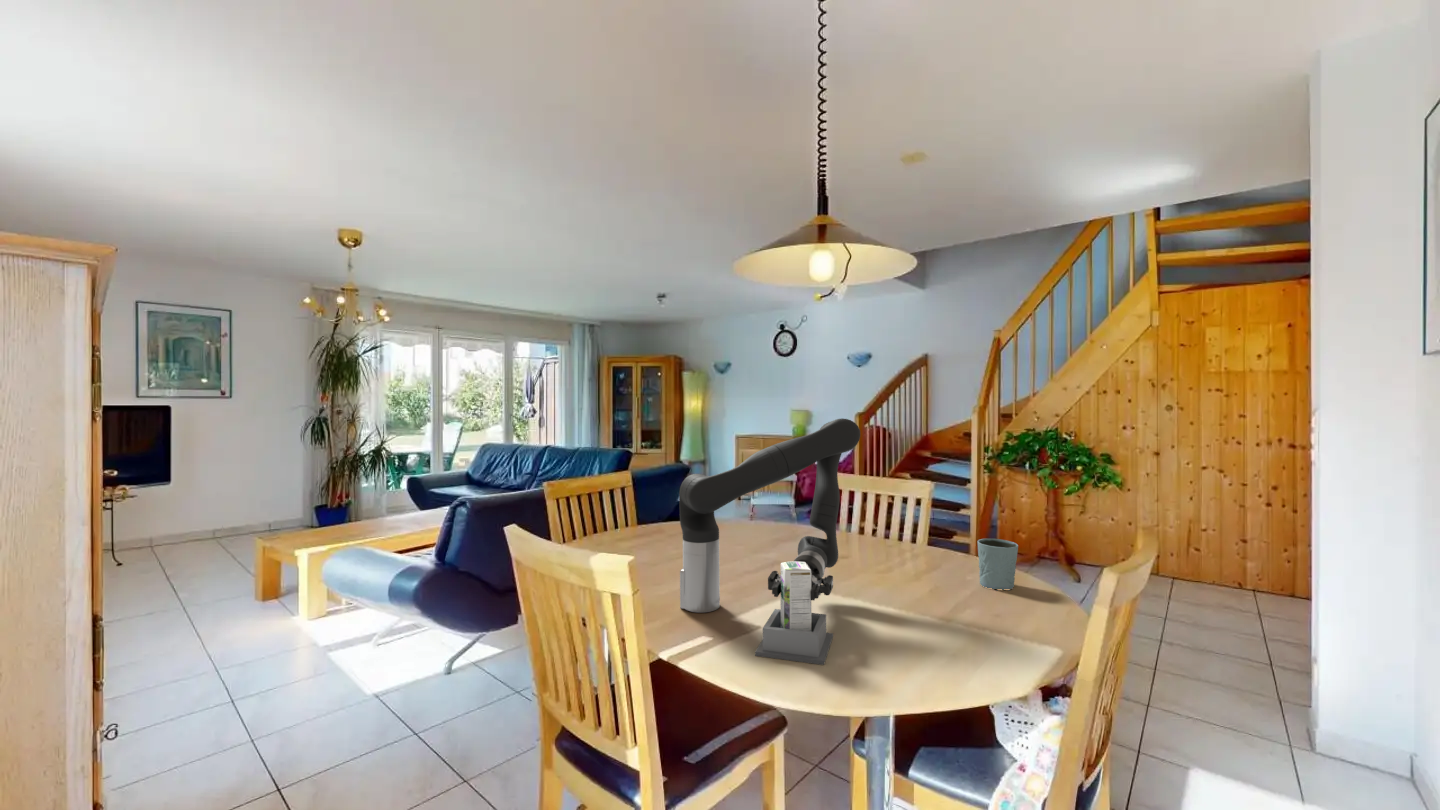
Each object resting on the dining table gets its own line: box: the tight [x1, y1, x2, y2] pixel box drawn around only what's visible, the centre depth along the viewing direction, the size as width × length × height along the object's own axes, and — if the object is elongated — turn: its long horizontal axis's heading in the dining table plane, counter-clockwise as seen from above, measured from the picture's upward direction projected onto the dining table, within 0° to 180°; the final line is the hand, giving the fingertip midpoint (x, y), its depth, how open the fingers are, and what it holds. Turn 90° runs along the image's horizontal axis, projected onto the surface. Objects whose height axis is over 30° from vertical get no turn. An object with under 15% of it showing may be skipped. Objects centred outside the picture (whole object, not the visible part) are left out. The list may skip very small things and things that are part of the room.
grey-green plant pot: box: [977, 538, 1019, 590], centre depth 162 cm, size 10×10×12 cm
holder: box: [754, 608, 834, 666], centre depth 124 cm, size 14×14×5 cm
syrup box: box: [780, 560, 812, 632], centre depth 124 cm, size 6×6×14 cm
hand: (793, 594), depth 122 cm, fingers closed on syrup box, 7 cm apart
